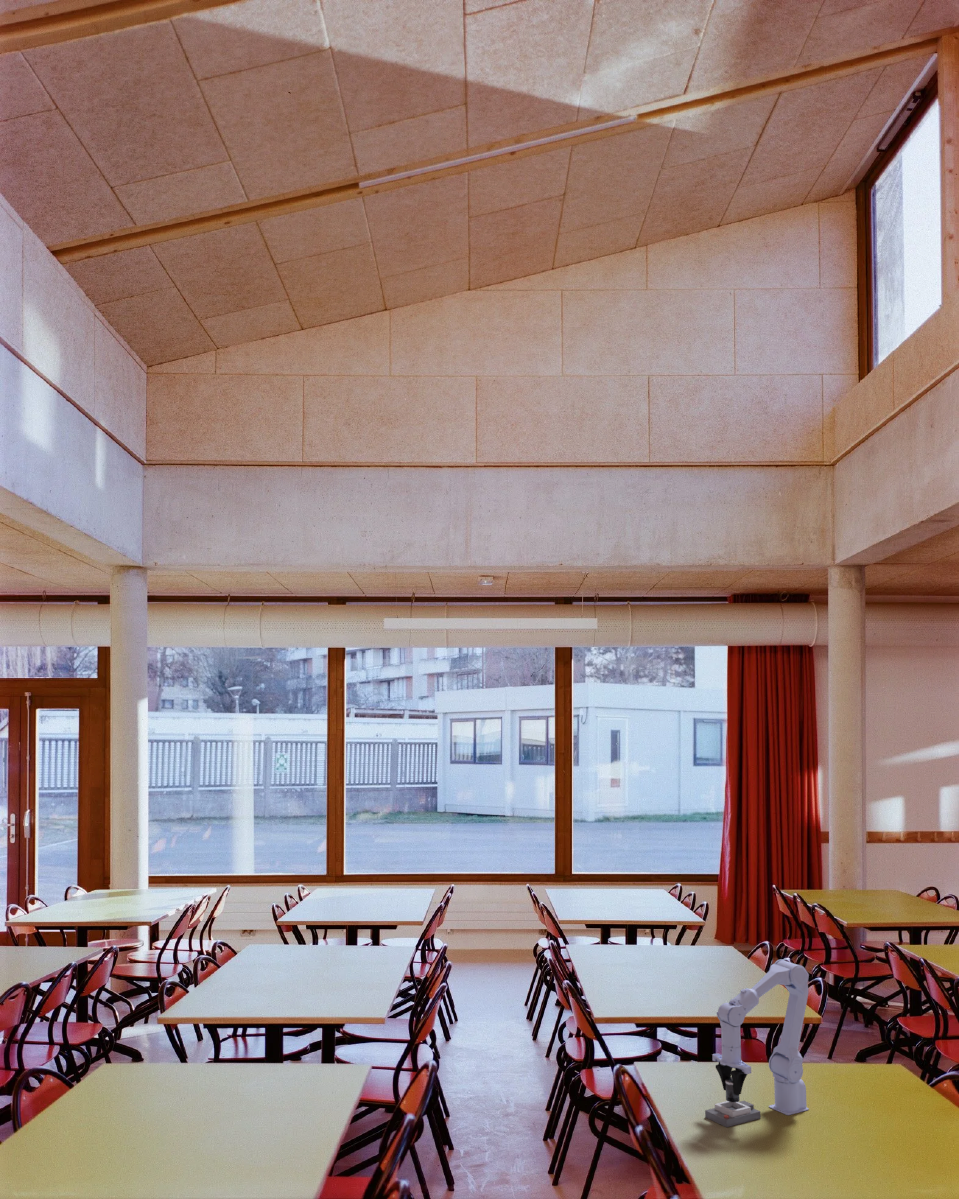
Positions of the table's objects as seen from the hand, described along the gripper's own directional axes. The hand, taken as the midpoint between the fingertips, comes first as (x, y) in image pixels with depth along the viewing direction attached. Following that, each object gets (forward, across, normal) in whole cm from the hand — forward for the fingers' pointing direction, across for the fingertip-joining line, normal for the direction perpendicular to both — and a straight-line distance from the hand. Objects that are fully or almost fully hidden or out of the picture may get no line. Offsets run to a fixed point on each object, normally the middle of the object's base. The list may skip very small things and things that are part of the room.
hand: (732, 1092), depth 308 cm
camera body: (+8, 0, 0) cm, 8 cm away
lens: (+2, 0, 0) cm, 2 cm away
